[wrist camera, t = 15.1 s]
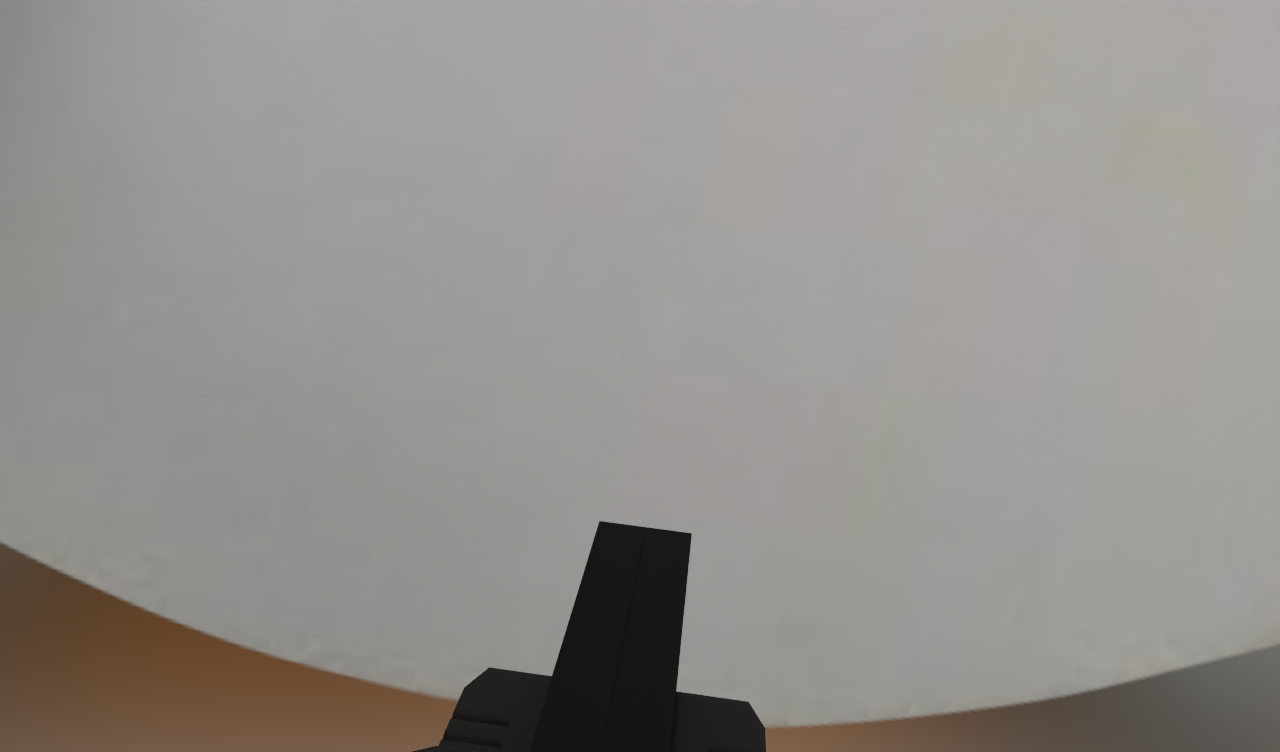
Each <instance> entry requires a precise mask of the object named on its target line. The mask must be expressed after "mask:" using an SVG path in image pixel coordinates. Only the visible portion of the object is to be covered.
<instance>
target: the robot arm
mask: <svg viewBox="0 0 1280 752" xmlns="http://www.w3.org/2000/svg"><path fill="white" fill-rule="evenodd" d="M690 544H691V533H684V532H676V531H669V530H661V529H654V528H646V527H639V526H632V525H624V524H617V523H609V522H602V521H600V522H599V525H598V528H597V531H596V535H595V538H594V541H593V545H592V548H591V551H590V554H589V558H588V561H587V564H586V567H585V571H584V574H583V577H582V580H581V584H580V587H579V590H578V594H577V597H576V600H575V603H574V607H573V610H572V613H571V616H570V620H569V623H568V626H567V630H566V633H565V636H564V639H563V643H562V646H561V649H560V652H559V656H558V659H557V662H556V665H555V669H554V672H553V675H552V676H545V675H538V674H531V673H524V672H517V671H510V670H503V669H496V668H488V669H487V670H486V671H484V672H483V673H482V674H481V675H479V676H478V677H477V678H476V679H474V680H473V681H472V682H471V683H470V684H468V685H467V686H466V687H465V688H464V690H463V692H462V694H461V696H460V699H459V701H458V703H457V706H456V708H455V710H454V712H453V717H452V718H451V719H450V721H449V724H448V726H447V728H446V730H445V733H444V737H443V740H441V742H440V744H439V746H434V747H430V748H426V749H422V750H417V751H413V752H766V745H765V744H766V743H765V728H764V726H763V724H762V723H761V721H760V720H759V718H758V716H757V715H756V713H755V712H754V710H753V708H752V707H751V705H750V704H749V702H745V701H738V700H731V699H724V698H717V697H710V696H703V695H697V694H690V693H683V692H676V686H677V676H678V666H679V656H680V645H681V635H682V625H683V615H684V605H685V595H686V585H687V575H688V564H689V554H690Z"/></svg>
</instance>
